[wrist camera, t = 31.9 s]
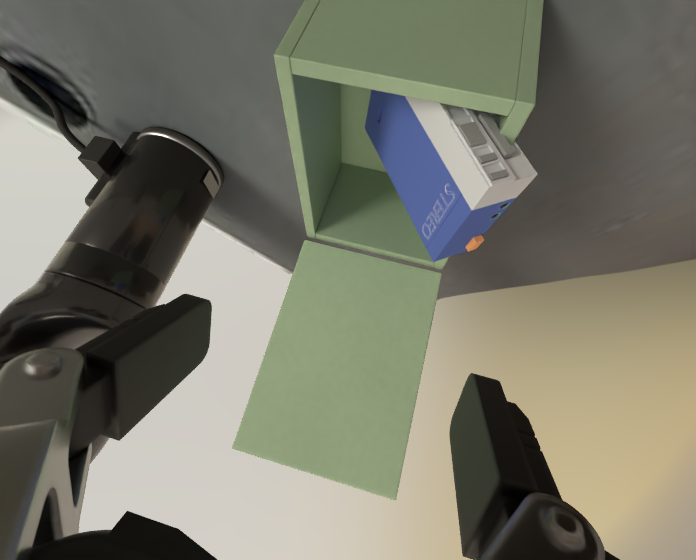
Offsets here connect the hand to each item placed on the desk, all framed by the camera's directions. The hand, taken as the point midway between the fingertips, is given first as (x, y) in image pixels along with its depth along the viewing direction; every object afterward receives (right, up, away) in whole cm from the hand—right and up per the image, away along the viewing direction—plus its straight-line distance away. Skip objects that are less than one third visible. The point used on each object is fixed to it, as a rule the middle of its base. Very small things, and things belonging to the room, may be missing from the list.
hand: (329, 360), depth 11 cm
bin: (+5, +16, +15) cm, 22 cm away
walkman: (+3, +16, +12) cm, 20 cm away
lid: (0, -3, +16) cm, 16 cm away
